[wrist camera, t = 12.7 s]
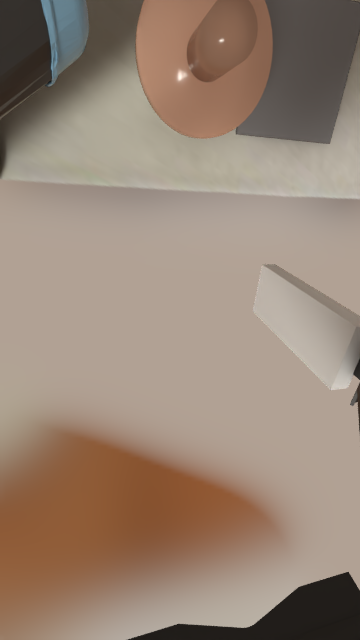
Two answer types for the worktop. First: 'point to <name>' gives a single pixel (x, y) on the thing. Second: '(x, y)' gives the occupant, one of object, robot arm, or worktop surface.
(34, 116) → the worktop surface
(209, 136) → the lid
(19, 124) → the worktop surface
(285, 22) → the mat
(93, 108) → the worktop surface
